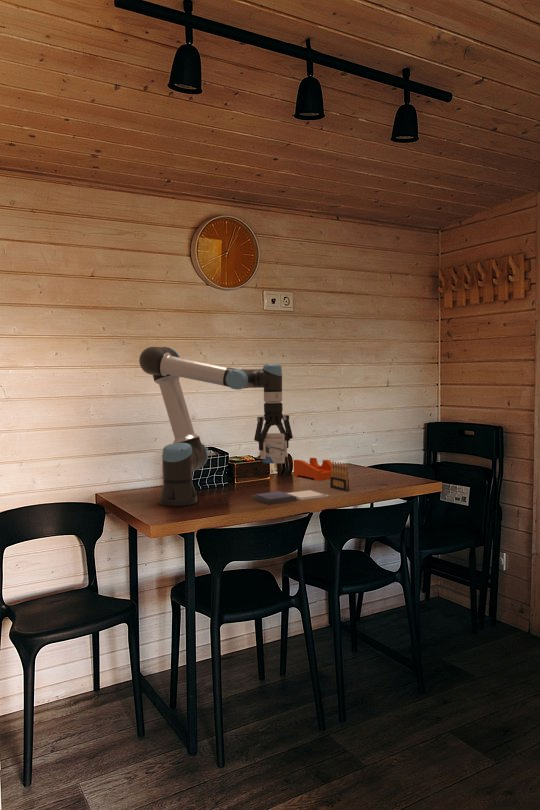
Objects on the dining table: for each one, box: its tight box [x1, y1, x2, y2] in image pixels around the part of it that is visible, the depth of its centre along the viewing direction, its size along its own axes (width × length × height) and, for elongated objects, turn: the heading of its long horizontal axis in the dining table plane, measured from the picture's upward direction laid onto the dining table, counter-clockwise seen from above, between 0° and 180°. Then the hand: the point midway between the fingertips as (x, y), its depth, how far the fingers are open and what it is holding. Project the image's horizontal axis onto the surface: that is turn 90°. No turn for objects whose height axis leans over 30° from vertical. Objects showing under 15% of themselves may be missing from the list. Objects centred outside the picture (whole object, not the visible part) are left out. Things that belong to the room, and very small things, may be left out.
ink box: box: [262, 432, 286, 464], centre depth 257 cm, size 9×5×12 cm, turn 84°
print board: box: [285, 489, 330, 501], centre depth 266 cm, size 14×14×1 cm
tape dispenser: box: [293, 457, 332, 482], centre depth 310 cm, size 18×13×8 cm
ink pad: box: [252, 490, 297, 505], centre depth 259 cm, size 13×13×2 cm
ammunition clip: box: [329, 461, 350, 492], centre depth 279 cm, size 11×2×12 cm, turn 34°
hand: (273, 457), depth 258 cm, fingers closed on ink box, 9 cm apart
